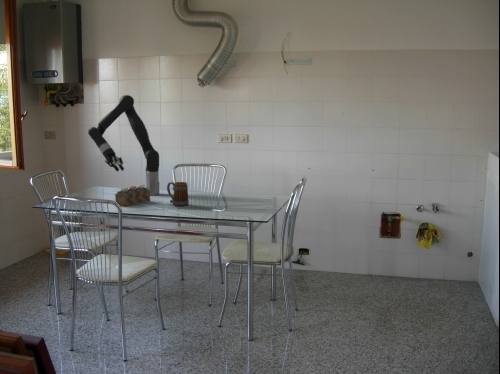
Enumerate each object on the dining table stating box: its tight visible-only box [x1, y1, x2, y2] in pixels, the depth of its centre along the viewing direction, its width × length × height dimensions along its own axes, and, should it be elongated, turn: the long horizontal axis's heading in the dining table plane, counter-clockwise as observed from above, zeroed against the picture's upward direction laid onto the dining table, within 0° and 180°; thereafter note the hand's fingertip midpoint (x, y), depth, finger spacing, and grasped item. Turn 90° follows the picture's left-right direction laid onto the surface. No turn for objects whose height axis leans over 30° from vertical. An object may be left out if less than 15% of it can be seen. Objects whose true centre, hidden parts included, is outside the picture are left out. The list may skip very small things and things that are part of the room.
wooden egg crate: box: [114, 187, 151, 208], centre depth 333 cm, size 24×8×9 cm, turn 150°
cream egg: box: [137, 184, 146, 189], centre depth 339 cm, size 5×5×2 cm
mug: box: [166, 181, 190, 208], centre depth 330 cm, size 16×11×15 cm
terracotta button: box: [128, 185, 137, 190], centre depth 332 cm, size 5×5×2 cm
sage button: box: [120, 187, 129, 192], centre depth 325 cm, size 5×5×2 cm
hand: (120, 170), depth 335 cm, fingers open, 4 cm apart
